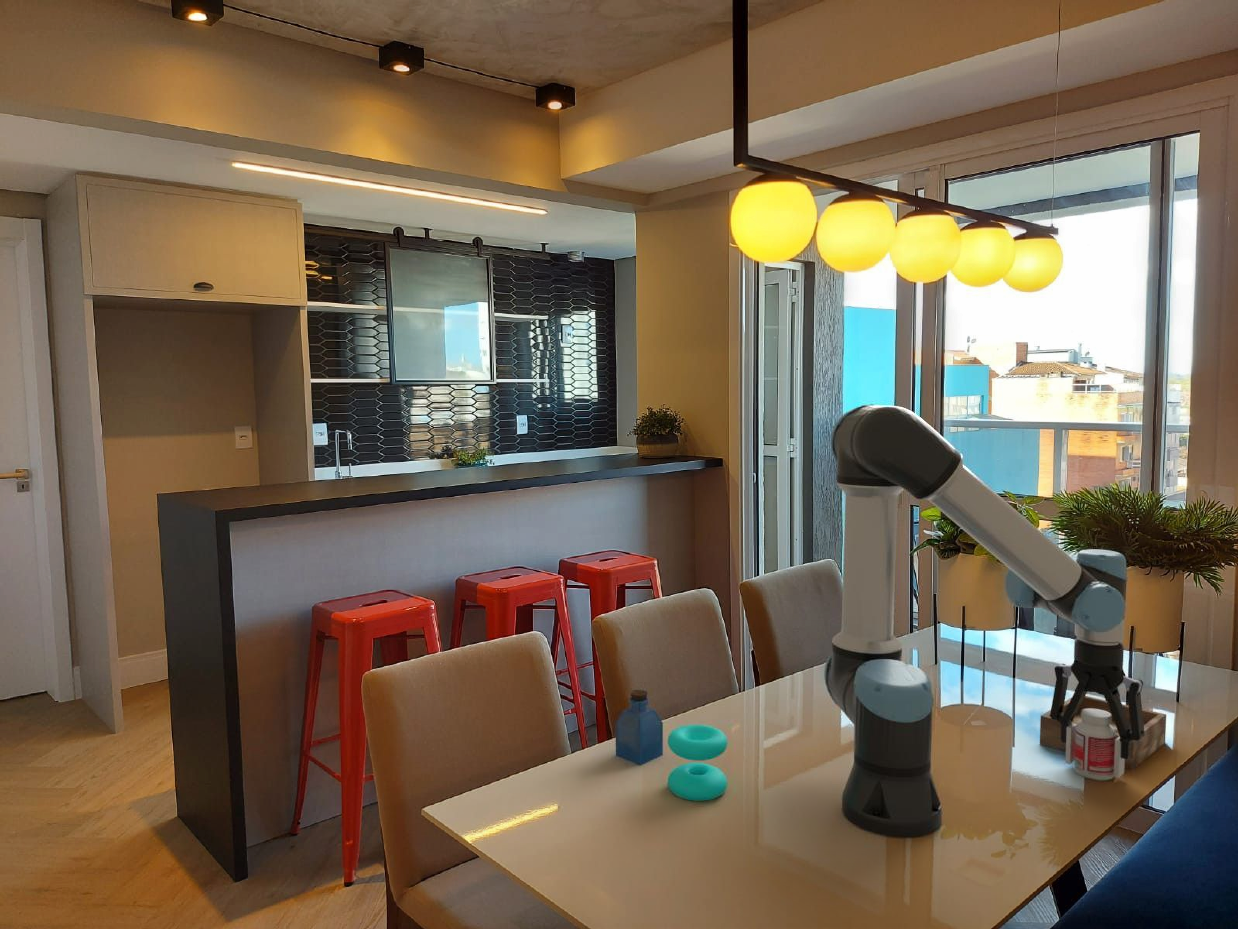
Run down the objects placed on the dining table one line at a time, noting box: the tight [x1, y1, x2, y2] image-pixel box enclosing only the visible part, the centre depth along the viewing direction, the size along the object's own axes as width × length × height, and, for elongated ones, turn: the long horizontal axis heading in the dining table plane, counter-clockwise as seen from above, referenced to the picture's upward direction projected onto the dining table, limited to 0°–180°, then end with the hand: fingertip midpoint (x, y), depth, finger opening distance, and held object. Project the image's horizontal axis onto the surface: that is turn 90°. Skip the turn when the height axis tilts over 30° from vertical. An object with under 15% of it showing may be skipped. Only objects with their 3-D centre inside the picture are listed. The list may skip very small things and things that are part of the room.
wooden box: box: [1039, 695, 1167, 770], centre depth 168 cm, size 18×16×6 cm
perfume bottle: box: [615, 689, 664, 766], centre depth 164 cm, size 6×6×12 cm
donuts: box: [667, 724, 728, 802], centre depth 149 cm, size 10×10×10 cm
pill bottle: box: [1074, 708, 1116, 781], centre depth 154 cm, size 6×6×11 cm
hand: (1094, 767), depth 155 cm, fingers open, 7 cm apart
